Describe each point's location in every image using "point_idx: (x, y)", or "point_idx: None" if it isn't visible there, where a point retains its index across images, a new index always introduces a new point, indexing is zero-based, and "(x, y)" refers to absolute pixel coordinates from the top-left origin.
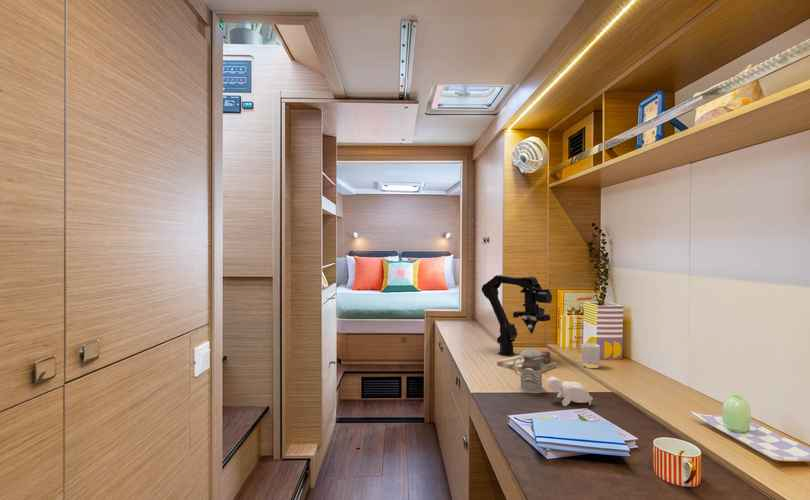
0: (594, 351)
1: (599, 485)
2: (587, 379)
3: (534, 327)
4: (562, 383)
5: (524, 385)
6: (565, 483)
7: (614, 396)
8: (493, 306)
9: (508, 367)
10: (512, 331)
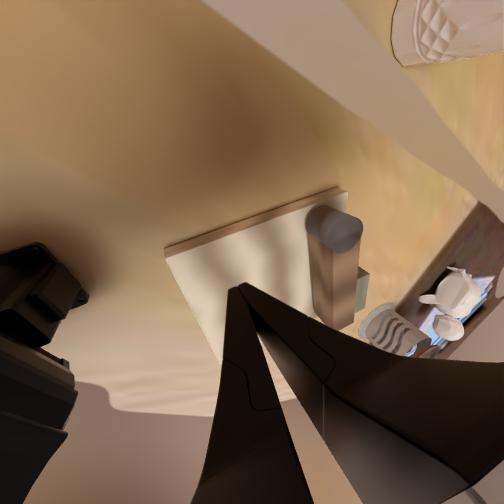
0: None
1: (470, 331)
2: (435, 186)
3: (299, 314)
4: (457, 316)
5: (381, 340)
6: (455, 346)
7: (483, 214)
8: None
9: None
10: (16, 431)
